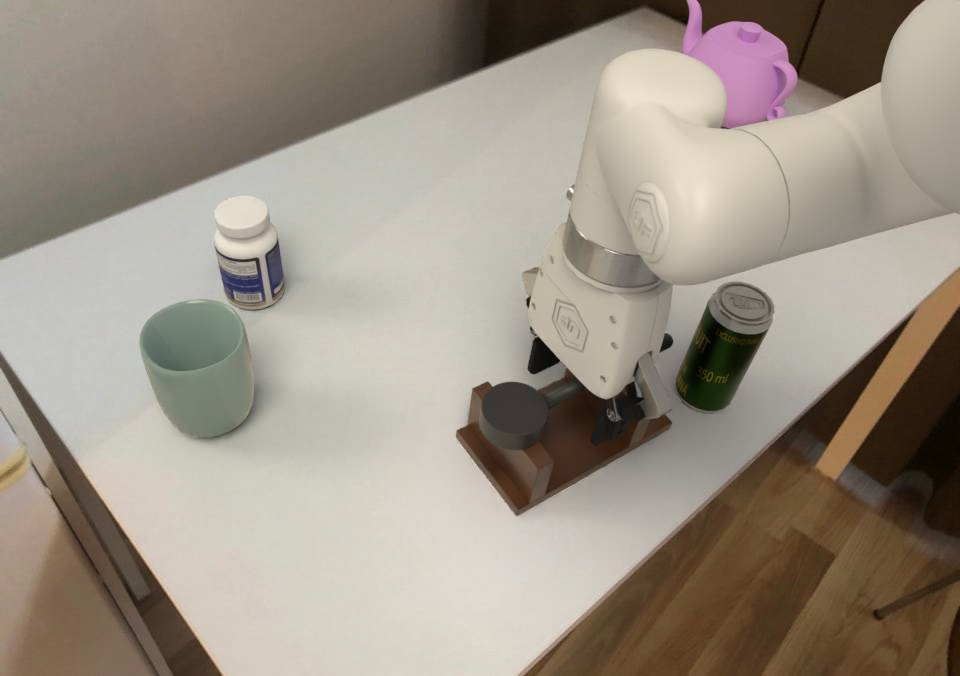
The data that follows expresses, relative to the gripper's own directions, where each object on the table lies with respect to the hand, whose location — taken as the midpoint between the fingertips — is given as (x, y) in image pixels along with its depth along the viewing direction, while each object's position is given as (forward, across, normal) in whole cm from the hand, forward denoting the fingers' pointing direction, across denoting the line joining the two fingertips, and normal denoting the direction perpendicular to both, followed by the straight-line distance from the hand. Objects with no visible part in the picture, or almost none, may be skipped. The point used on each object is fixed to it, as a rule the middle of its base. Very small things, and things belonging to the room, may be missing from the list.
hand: (574, 399), depth 66 cm
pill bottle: (+5, -29, -16) cm, 33 cm away
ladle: (-1, 0, 0) cm, 1 cm away
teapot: (+5, -33, +53) cm, 63 cm away
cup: (+5, -17, -25) cm, 31 cm away
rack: (+5, 0, 0) cm, 5 cm away
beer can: (+5, +3, +14) cm, 15 cm away
